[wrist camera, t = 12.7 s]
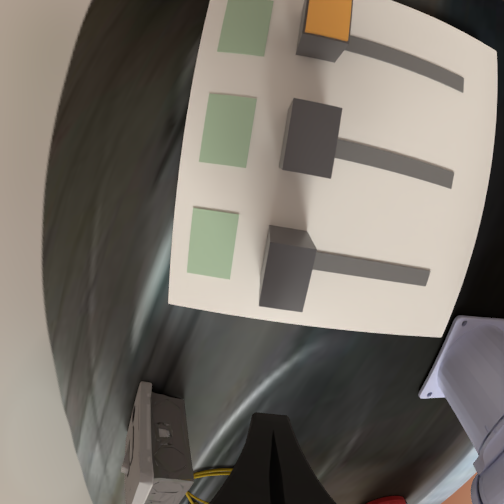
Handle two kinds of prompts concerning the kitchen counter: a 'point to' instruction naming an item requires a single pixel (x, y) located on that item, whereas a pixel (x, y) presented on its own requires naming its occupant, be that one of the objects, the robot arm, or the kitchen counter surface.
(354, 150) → the breaker panel
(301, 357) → the kitchen counter surface
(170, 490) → the electrical switch
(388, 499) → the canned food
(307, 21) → the handle
